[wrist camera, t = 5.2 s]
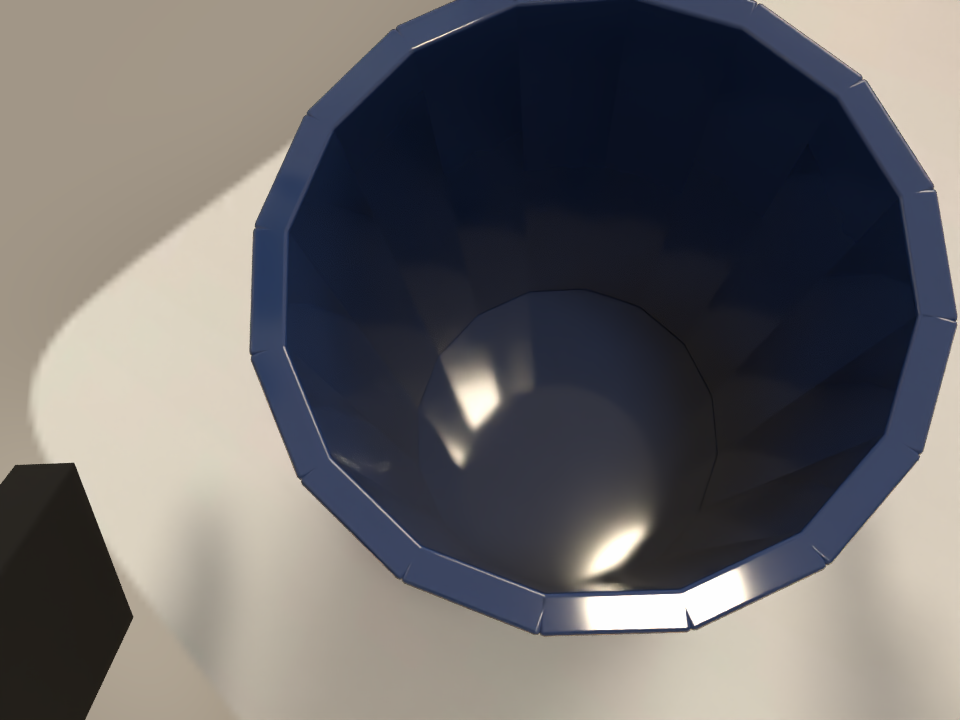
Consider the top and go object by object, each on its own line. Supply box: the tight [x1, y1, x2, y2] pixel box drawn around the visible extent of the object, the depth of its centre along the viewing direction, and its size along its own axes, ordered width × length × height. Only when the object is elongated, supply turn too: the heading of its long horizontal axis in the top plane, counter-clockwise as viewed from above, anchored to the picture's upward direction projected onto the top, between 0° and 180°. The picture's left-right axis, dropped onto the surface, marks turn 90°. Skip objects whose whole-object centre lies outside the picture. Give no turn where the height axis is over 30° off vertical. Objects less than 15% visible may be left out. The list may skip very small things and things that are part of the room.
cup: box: [249, 0, 957, 637], centre depth 15 cm, size 7×7×11 cm
